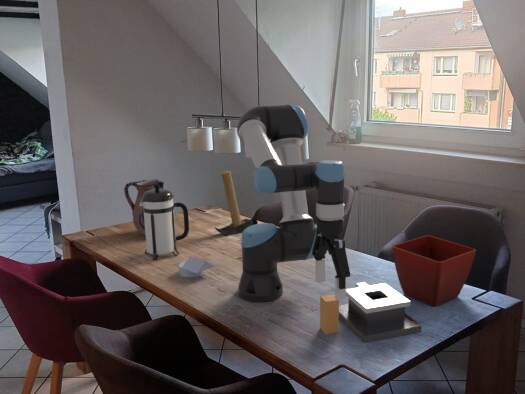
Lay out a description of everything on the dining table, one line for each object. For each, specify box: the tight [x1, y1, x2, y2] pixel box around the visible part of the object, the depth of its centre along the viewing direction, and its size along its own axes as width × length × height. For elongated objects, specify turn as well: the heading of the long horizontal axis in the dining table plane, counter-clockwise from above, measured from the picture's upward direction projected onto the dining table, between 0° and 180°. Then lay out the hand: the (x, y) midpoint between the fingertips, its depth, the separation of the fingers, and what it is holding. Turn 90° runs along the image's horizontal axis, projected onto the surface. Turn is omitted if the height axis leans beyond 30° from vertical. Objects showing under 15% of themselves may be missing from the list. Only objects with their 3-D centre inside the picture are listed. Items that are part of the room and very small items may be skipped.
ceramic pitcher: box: [123, 178, 165, 236], centre depth 245 cm, size 18×21×25 cm
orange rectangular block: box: [319, 293, 340, 335], centre depth 151 cm, size 4×4×10 cm
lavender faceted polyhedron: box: [178, 255, 215, 278], centre depth 196 cm, size 9×7×13 cm
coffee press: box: [139, 184, 190, 261], centre depth 216 cm, size 17×16×30 cm
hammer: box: [214, 170, 259, 237], centre depth 242 cm, size 20×5×30 cm, turn 120°
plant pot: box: [391, 235, 477, 307], centre depth 171 cm, size 19×19×17 cm
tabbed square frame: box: [339, 281, 422, 343], centre depth 156 cm, size 18×20×8 cm
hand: (330, 289), depth 149 cm, fingers open, 13 cm apart
